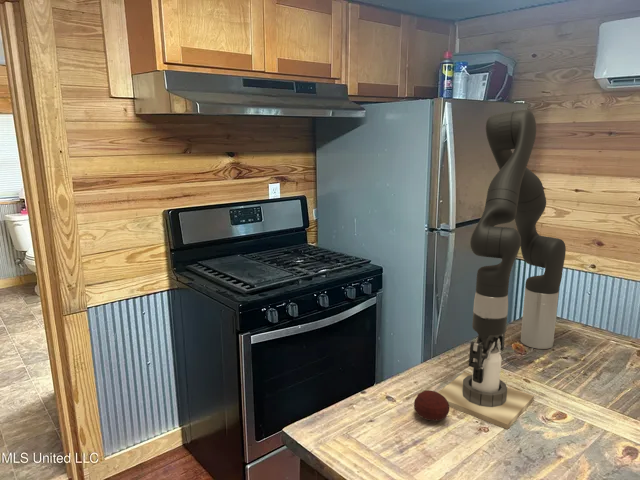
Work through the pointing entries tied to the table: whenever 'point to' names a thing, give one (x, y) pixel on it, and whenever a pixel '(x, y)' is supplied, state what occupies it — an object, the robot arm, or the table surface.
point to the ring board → (488, 412)
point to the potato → (431, 405)
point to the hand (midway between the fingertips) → (485, 375)
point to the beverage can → (490, 373)
